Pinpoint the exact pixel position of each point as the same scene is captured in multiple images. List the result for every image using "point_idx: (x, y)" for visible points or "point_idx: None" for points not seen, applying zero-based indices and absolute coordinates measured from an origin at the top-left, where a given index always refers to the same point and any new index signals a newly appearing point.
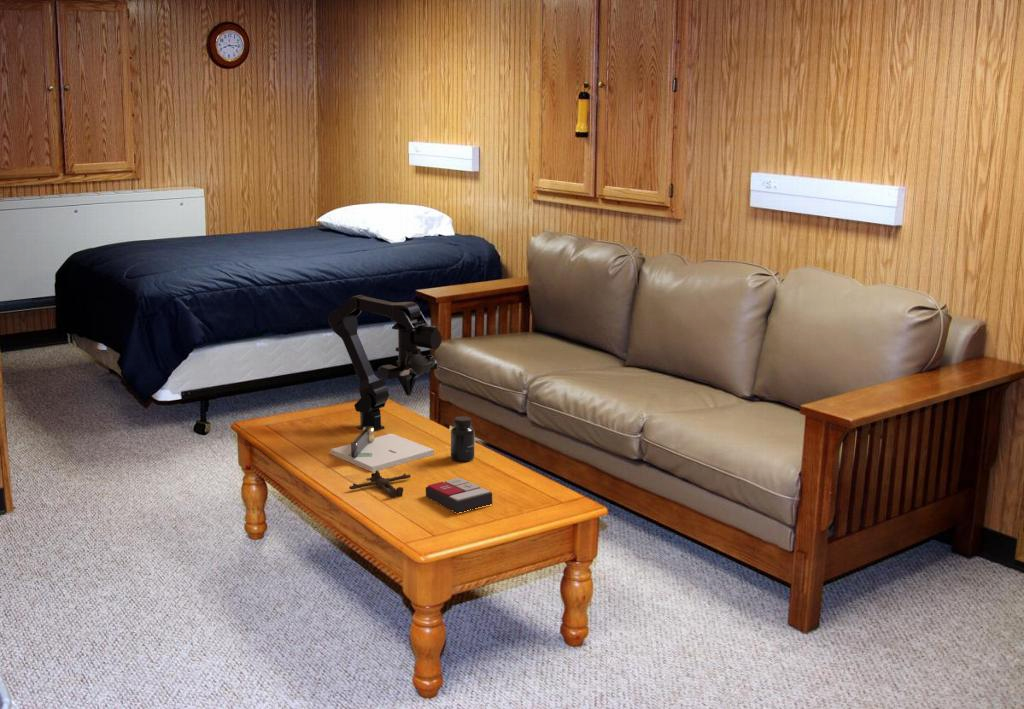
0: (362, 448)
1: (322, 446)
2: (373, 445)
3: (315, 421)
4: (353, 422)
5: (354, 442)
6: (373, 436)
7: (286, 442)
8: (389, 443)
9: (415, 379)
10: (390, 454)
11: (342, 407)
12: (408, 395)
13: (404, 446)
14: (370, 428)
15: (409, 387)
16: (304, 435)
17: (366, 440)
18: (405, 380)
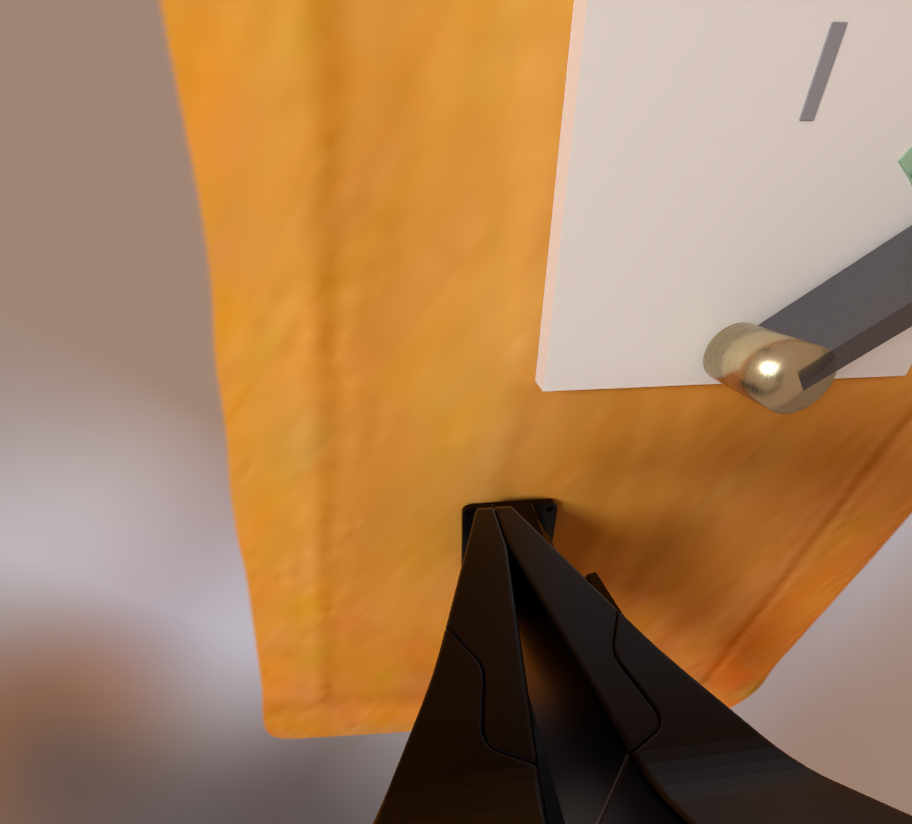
0: (901, 238)
1: (797, 464)
2: (765, 282)
3: None
4: None
5: None
6: (750, 335)
7: (812, 558)
8: (687, 248)
9: (431, 767)
10: (883, 24)
11: None
12: (509, 507)
13: (685, 112)
14: (808, 360)
15: (551, 588)
16: (720, 583)
17: (835, 299)
18: (793, 766)
